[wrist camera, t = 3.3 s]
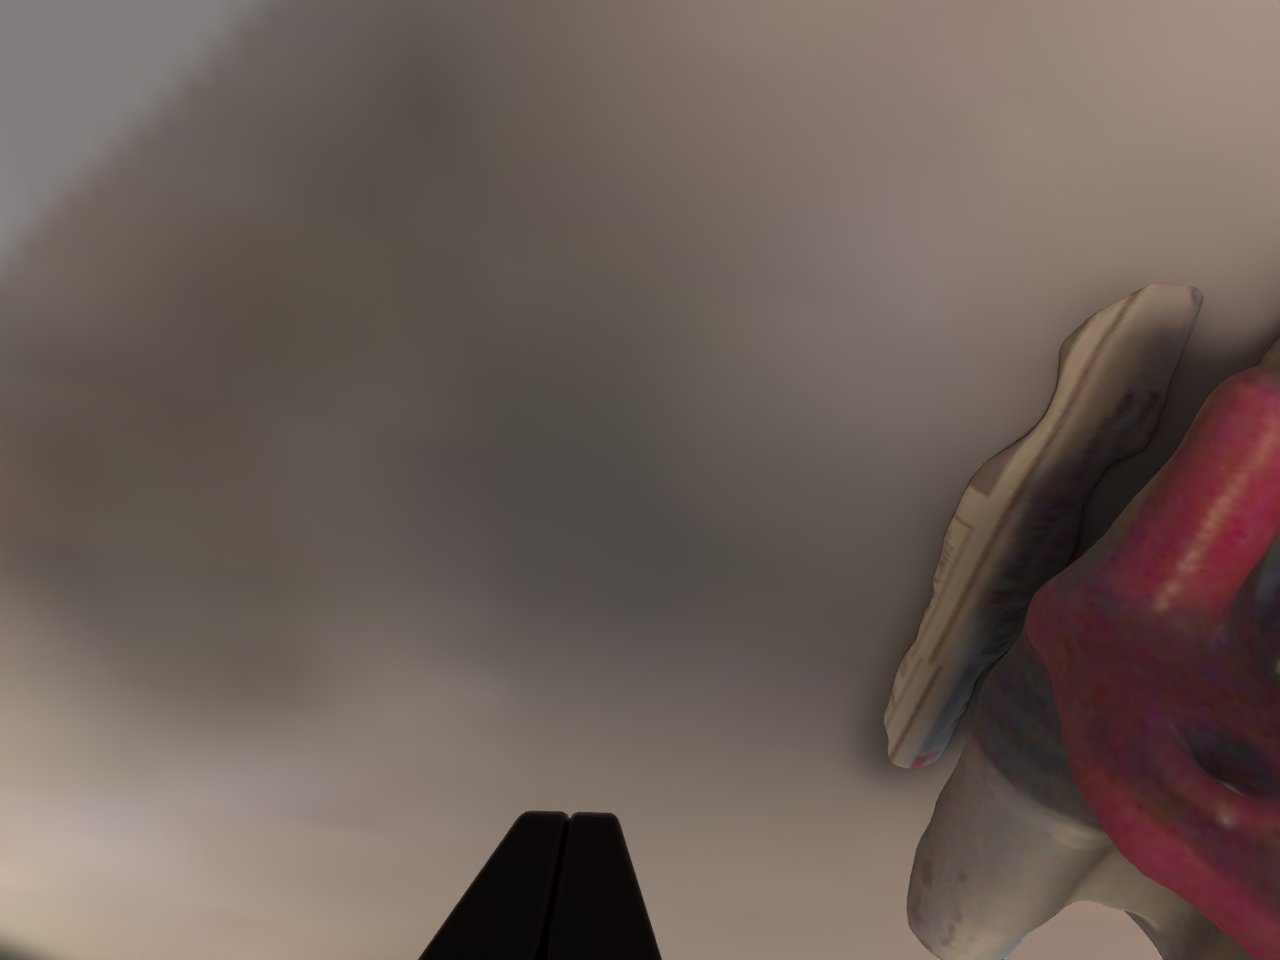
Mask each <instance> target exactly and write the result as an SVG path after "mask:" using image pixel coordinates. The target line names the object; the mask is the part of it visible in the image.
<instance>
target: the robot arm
mask: <svg viewBox="0 0 1280 960" xmlns="http://www.w3.org/2000/svg"><path fill="white" fill-rule="evenodd" d="M418 960H662V958H661V955H660V952H659V949H658V945H657V942H656V939H655V936H654V932H653V929H652V926H651V923H650V920H649V916H648V913H647V910H646V907H645V903H644V900H643V897H642V894H641V890H640V887H639V884H638V881H637V878H636V874H635V871H634V868H633V865H632V861H631V858H630V855H629V852H628V849H627V845H626V842H625V839H624V836H623V832H622V829H621V826H620V823H619V820H618V818H617V817H616V816H615V815H614V814H612V813H597V812H577V813H574V814H573V815H572V816H571V818H569V816H568V815H567V814H566V813H564V812H559V811H526V812H525V813H523V814H521V815H520V816H519V817H518V819H517V820H516V821H515V823H514V824H513V825H512V827H511V828H510V830H509V831H508V833H507V834H506V835H505V837H504V838H503V840H502V841H501V842H500V844H499V845H498V847H497V848H496V850H495V851H494V852H493V854H492V855H491V857H490V858H489V859H488V861H487V862H486V864H485V865H484V867H483V868H482V869H481V871H480V872H479V874H478V875H477V876H476V878H475V879H474V881H473V882H472V884H471V885H470V886H469V888H468V889H467V891H466V892H465V894H464V895H463V896H462V898H461V899H460V901H459V902H458V903H457V905H456V906H455V908H454V909H453V911H452V912H451V913H450V915H449V916H448V918H447V919H446V920H445V922H444V923H443V925H442V926H441V928H440V929H439V930H438V932H437V933H436V935H435V936H434V937H433V939H432V940H431V942H430V943H429V945H428V946H427V947H426V949H425V950H424V952H423V953H422V954H421V956H420V957H419V959H418Z"/></svg>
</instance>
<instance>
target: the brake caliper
mask: <svg viewBox="0 0 1280 960" xmlns="http://www.w3.org/2000/svg"><path fill="white" fill-rule="evenodd" d="M1202 301H1203V295H1202V293H1201V291H1200V290H1199V289H1196V288H1194V287H1191V286H1181V285H1173V284H1164V283H1158V284H1150V285H1146V286H1145V287H1144V288H1142V289H1140V290H1139V291H1137V292H1135V293H1133V294H1131V295H1130V296H1128V297H1126V298H1124V299H1122V300H1119V301H1117V302H1115V303H1114V304H1112V305H1110V306H1108V307H1106V308H1105V309H1103V310H1101V311H1099V312H1098V313H1096V314H1094V315H1092V316H1091V317H1090V318H1088V319H1087V320H1086V321H1085V322H1084V323H1083V324H1082V325H1081V326H1079V327H1078V328H1077V329H1076V330H1075V331H1074V332H1073V333H1072V334H1071V335H1070V336H1069V337H1067V338H1066V340H1065V341H1064V343H1063V344H1062V346H1061V348H1060V361H1059V379H1058V386H1057V389H1056V392H1055V395H1054V398H1053V400H1052V403H1051V405H1050V407H1049V409H1048V411H1047V413H1046V415H1045V417H1044V418H1043V419H1042V420H1041V421H1040V422H1039V424H1038V425H1037V426H1036V427H1035V428H1034V429H1033V430H1032V431H1031V432H1030V433H1029V434H1028V435H1027V436H1025V437H1024V438H1022V439H1021V440H1019V441H1018V442H1017V443H1016V444H1014V445H1013V446H1011V447H1009V448H1007V449H1005V450H1004V451H1002V452H1001V453H999V454H997V455H995V456H994V457H992V458H990V459H989V460H988V461H986V462H985V463H984V464H983V465H982V466H981V468H980V469H979V470H978V471H977V473H976V474H975V475H974V477H973V478H972V480H971V482H970V484H969V486H968V488H967V489H966V491H965V492H964V494H963V496H962V498H961V501H960V503H959V505H958V507H957V510H956V512H955V514H954V516H953V518H952V520H951V523H950V525H949V527H948V530H947V532H946V535H945V537H944V541H943V547H942V553H941V556H940V559H939V562H938V566H937V569H936V571H935V574H934V579H933V586H934V594H933V597H932V599H931V601H930V603H929V604H928V606H927V608H926V610H925V612H924V615H923V618H922V620H921V623H920V626H919V631H918V636H917V638H916V640H915V642H914V643H913V645H912V646H911V647H910V649H909V650H908V651H907V652H906V654H905V655H904V657H903V659H902V661H901V664H900V666H899V669H898V671H897V674H896V676H895V679H894V683H893V687H892V691H891V696H890V700H889V704H888V707H887V709H886V711H885V714H884V724H885V729H886V732H887V734H888V739H889V745H888V756H889V758H890V760H891V762H892V763H893V764H894V765H896V766H899V767H902V768H908V769H919V768H922V767H924V766H927V765H929V764H931V763H933V762H935V761H936V760H937V759H938V758H939V757H940V756H941V755H942V753H943V751H944V749H945V748H946V746H947V744H948V742H949V740H950V738H951V736H952V734H953V732H954V730H955V727H956V725H957V723H958V721H959V719H960V717H961V716H962V714H963V713H964V711H965V709H966V707H967V705H968V703H969V701H970V699H971V696H972V692H973V688H974V684H975V681H976V679H977V677H978V676H979V675H980V673H981V672H982V671H983V670H985V669H986V668H987V667H989V666H990V665H991V664H993V663H994V662H995V661H996V660H997V659H998V658H1000V657H1001V656H1002V655H1003V654H1004V653H1005V652H1007V651H1008V650H1009V651H1008V652H1007V654H1006V655H1005V656H1004V657H1003V658H1002V659H1001V660H1000V661H999V663H998V664H997V665H996V666H995V667H994V668H993V669H992V670H991V671H990V672H989V675H988V677H987V678H986V679H985V681H984V683H983V685H982V688H981V690H980V696H979V702H978V706H977V710H976V713H975V717H974V719H973V722H972V725H971V728H970V731H969V733H968V736H967V739H966V742H965V745H964V748H963V750H962V753H961V756H960V759H959V762H958V764H957V766H956V768H955V770H954V772H953V773H952V775H951V777H950V778H949V780H948V781H947V783H946V784H945V786H944V788H943V789H942V791H941V793H940V795H939V797H938V799H937V802H936V805H935V810H934V813H933V815H932V818H931V821H930V823H929V825H928V827H927V828H926V830H925V832H924V834H923V835H922V837H921V839H920V841H919V843H918V846H917V849H916V854H915V858H914V863H913V868H912V872H911V876H910V883H909V889H908V896H907V916H908V924H909V927H910V929H911V930H912V932H913V933H914V934H915V936H916V937H917V938H918V940H919V941H920V942H921V943H922V944H923V946H925V947H926V948H927V949H928V950H929V951H930V952H931V953H932V954H934V955H935V956H937V957H938V958H940V959H941V960H1003V959H1004V958H1006V957H1007V956H1008V955H1009V954H1010V953H1011V952H1012V950H1013V949H1014V948H1015V947H1016V946H1017V945H1018V944H1019V942H1020V941H1021V940H1022V939H1023V938H1024V937H1025V936H1026V935H1027V934H1028V933H1029V932H1031V931H1032V930H1034V929H1036V928H1037V927H1039V926H1040V925H1042V924H1044V923H1045V922H1046V921H1048V920H1049V919H1051V918H1052V917H1053V916H1055V915H1056V914H1057V913H1059V912H1060V911H1061V910H1062V909H1064V908H1065V907H1067V906H1068V905H1070V904H1071V903H1073V902H1076V901H1079V900H1089V901H1093V902H1097V903H1100V904H1102V905H1105V906H1107V907H1111V908H1115V909H1120V910H1124V911H1125V912H1126V913H1127V914H1128V915H1129V916H1130V917H1131V918H1132V919H1133V920H1134V921H1135V922H1136V923H1137V924H1138V926H1139V927H1140V928H1141V929H1142V930H1143V931H1144V932H1145V934H1146V935H1147V936H1148V937H1149V939H1150V940H1151V941H1152V942H1153V944H1154V945H1155V946H1156V948H1157V950H1158V951H1159V953H1160V955H1161V956H1162V959H1163V960H1280V337H1279V338H1278V339H1277V340H1276V341H1275V342H1274V344H1273V345H1272V347H1271V348H1270V349H1269V350H1268V351H1267V353H1266V354H1265V356H1264V357H1263V359H1262V360H1261V361H1260V363H1259V364H1258V366H1256V367H1252V368H1249V369H1245V370H1243V371H1241V372H1238V373H1236V374H1234V375H1232V376H1230V377H1229V378H1227V379H1226V380H1225V381H1224V382H1222V383H1221V384H1220V385H1219V386H1218V387H1216V388H1215V389H1214V390H1213V392H1212V393H1211V394H1210V395H1209V396H1208V398H1207V399H1206V401H1205V402H1204V404H1203V405H1202V407H1201V408H1200V410H1199V411H1198V413H1197V415H1196V416H1195V418H1194V420H1193V422H1192V424H1191V425H1190V427H1189V429H1188V431H1187V433H1186V435H1185V436H1184V438H1183V440H1182V442H1181V444H1180V445H1179V447H1178V448H1177V450H1176V451H1175V453H1174V454H1173V455H1172V457H1171V458H1170V459H1169V460H1168V462H1167V463H1166V464H1165V465H1164V466H1163V467H1162V468H1161V469H1160V470H1159V471H1158V472H1157V473H1156V475H1155V476H1154V477H1153V478H1152V479H1151V480H1150V481H1149V482H1148V483H1147V484H1146V485H1145V486H1144V487H1143V489H1142V490H1141V491H1140V492H1138V493H1137V495H1136V496H1135V497H1134V498H1133V499H1132V500H1131V501H1130V503H1129V504H1128V505H1127V506H1126V507H1125V509H1124V510H1123V511H1122V512H1121V514H1120V515H1119V516H1118V518H1117V519H1116V520H1115V521H1114V523H1113V524H1112V526H1111V527H1110V528H1109V530H1108V531H1107V532H1106V533H1105V534H1104V535H1103V536H1102V537H1101V538H1100V539H1099V540H1098V541H1097V542H1096V543H1095V544H1094V545H1093V546H1092V547H1091V548H1090V549H1089V550H1088V551H1087V552H1085V553H1084V554H1083V555H1082V556H1081V557H1080V558H1078V559H1077V560H1076V561H1075V562H1073V563H1072V564H1071V565H1069V566H1068V567H1067V568H1065V567H1066V565H1067V564H1068V563H1069V561H1070V559H1071V557H1072V555H1073V552H1074V550H1075V548H1076V546H1077V543H1078V531H1079V526H1080V521H1081V513H1082V507H1083V503H1084V501H1085V500H1086V498H1087V497H1088V496H1089V494H1090V492H1091V491H1092V489H1093V488H1094V486H1095V485H1096V484H1097V483H1098V482H1099V480H1100V479H1101V478H1102V476H1103V474H1104V472H1105V471H1106V470H1107V469H1108V468H1109V467H1110V466H1111V465H1112V464H1114V463H1115V462H1117V461H1118V460H1120V459H1122V458H1124V457H1127V456H1130V455H1133V454H1136V453H1138V452H1140V451H1142V450H1143V449H1144V448H1145V447H1146V445H1147V444H1148V442H1149V441H1150V439H1151V437H1152V435H1153V434H1154V432H1155V430H1156V428H1157V425H1158V421H1159V418H1160V415H1161V412H1162V409H1163V406H1164V403H1165V399H1166V394H1167V389H1168V385H1169V383H1170V380H1171V377H1172V375H1173V373H1174V370H1175V368H1176V365H1177V363H1178V360H1179V358H1180V356H1181V354H1182V352H1183V350H1184V347H1185V344H1186V342H1187V340H1188V337H1189V335H1190V333H1191V331H1192V328H1193V326H1194V323H1195V321H1196V318H1197V316H1198V313H1199V311H1200V308H1201V305H1202Z"/></svg>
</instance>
